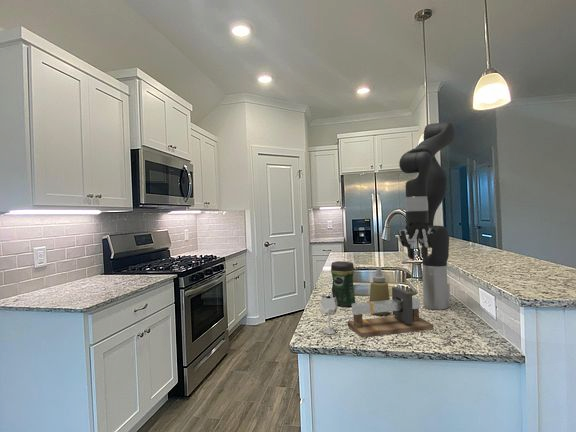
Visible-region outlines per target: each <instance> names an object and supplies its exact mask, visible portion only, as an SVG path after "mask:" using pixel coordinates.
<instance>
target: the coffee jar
mask: <svg viewBox="0 0 576 432" xmlns="http://www.w3.org/2000/svg"><path fill="white" fill-rule="evenodd" d="M330 273H331V276H332V288H331V290H332V293H331V295H334V296H336V300H337V305H338V306H340V307H352V304H353V303H356V295H355V287H354V274H355V267H354V263H353V262H352V261H343V260H341V261H340V260H339V261H338V260H337V261H333V262H331V265H330Z"/></svg>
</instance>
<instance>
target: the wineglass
mask: <svg viewBox="0 0 576 432" xmlns="http://www.w3.org/2000/svg"><path fill="white" fill-rule="evenodd" d="M319 305H320V311H321V313H322V314H324V315H325V316H328V317H327V321H328V328H327V329H326V328H325V329H324V330H323V331H322V332H323V333H324V334H328V335H333V334H336V333H337V330H336V329H334V328H332V327H331V319H332V316H334V315H335V314H336V313H337V312H338V305H337V300H336V296H334V295H332V294H325V295H322V296H321V299H320V304H319Z"/></svg>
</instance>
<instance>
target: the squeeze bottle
mask: <svg viewBox="0 0 576 432" xmlns="http://www.w3.org/2000/svg"><path fill="white" fill-rule="evenodd" d="M375 273H376V274H375V276H374V275H373V276H372V282H370V288H369V290H370V291H369V301H370V302H374V301H384V300H391V299H390V298H391V297H390V289H389V285H388V282H386V277H385V276H384V275H383V273H382V269H381V267H380V266H378V267H376V272H375ZM388 314H389V312H379V313H374V314H373V315H377V316H385V315H388Z"/></svg>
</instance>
